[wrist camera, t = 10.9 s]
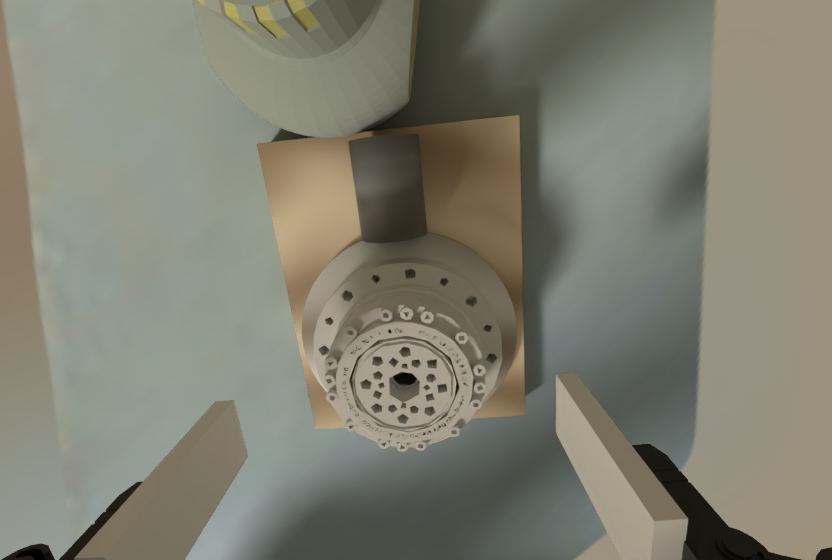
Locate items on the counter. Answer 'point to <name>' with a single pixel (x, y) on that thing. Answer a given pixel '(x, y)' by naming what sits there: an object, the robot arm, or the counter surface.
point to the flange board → (449, 205)
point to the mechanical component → (407, 352)
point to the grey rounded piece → (313, 59)
